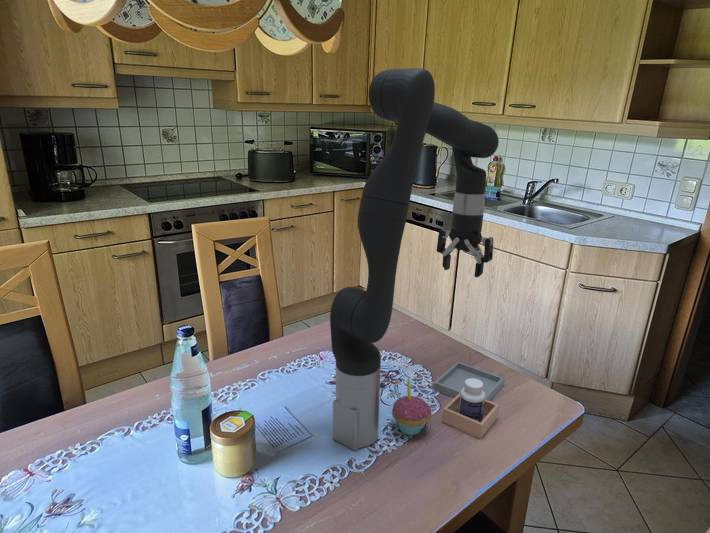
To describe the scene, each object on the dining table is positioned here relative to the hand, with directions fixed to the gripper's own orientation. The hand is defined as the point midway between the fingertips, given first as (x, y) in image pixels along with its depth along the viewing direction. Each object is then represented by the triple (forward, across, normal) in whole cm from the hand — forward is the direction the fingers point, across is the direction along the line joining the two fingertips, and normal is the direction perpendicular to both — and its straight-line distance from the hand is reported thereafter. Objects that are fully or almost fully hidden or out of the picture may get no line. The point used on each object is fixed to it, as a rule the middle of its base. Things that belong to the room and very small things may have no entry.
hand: (461, 272), depth 124 cm
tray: (+27, +8, -8) cm, 29 cm away
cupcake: (+28, +5, -30) cm, 41 cm away
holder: (+27, +14, -20) cm, 36 cm away
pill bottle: (+27, +14, -20) cm, 36 cm away
